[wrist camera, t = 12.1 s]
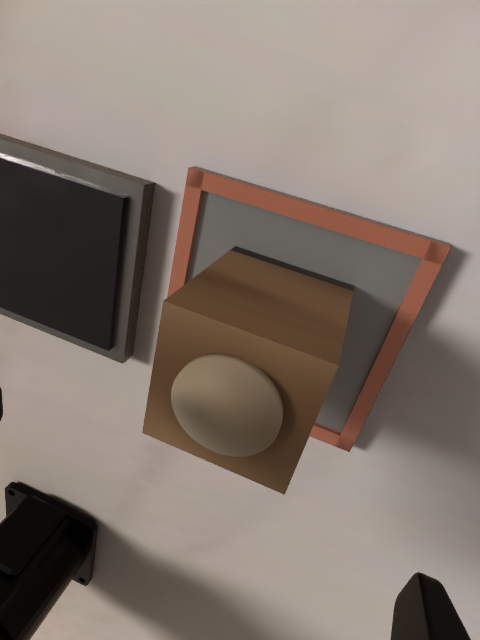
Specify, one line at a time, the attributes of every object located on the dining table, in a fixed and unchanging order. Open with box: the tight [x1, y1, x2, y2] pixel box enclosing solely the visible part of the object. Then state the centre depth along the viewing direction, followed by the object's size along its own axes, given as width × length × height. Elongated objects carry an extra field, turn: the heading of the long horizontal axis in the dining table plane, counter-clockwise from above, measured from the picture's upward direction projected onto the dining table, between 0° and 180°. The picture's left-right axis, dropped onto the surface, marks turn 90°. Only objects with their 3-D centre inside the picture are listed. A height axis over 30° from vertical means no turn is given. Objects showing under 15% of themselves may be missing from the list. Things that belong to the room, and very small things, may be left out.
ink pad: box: [0, 134, 155, 363], centre depth 18 cm, size 8×8×1 cm
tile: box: [167, 166, 451, 452], centre depth 16 cm, size 9×9×1 cm
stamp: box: [142, 246, 354, 495], centre depth 13 cm, size 4×4×6 cm
